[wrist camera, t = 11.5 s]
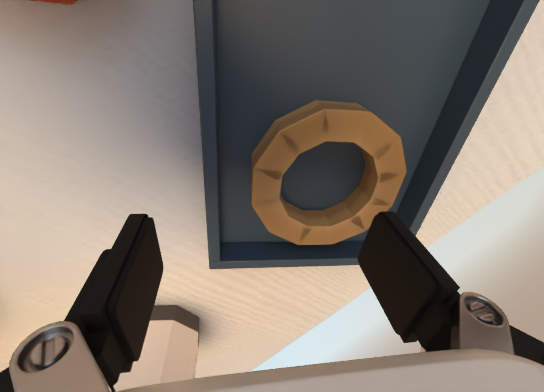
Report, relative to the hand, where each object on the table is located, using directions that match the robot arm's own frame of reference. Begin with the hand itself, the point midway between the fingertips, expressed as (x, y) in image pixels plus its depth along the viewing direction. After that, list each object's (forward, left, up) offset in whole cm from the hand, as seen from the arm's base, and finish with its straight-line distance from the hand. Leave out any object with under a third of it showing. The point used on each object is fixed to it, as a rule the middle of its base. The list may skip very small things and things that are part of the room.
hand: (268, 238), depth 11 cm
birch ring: (+2, +4, -7) cm, 8 cm away
